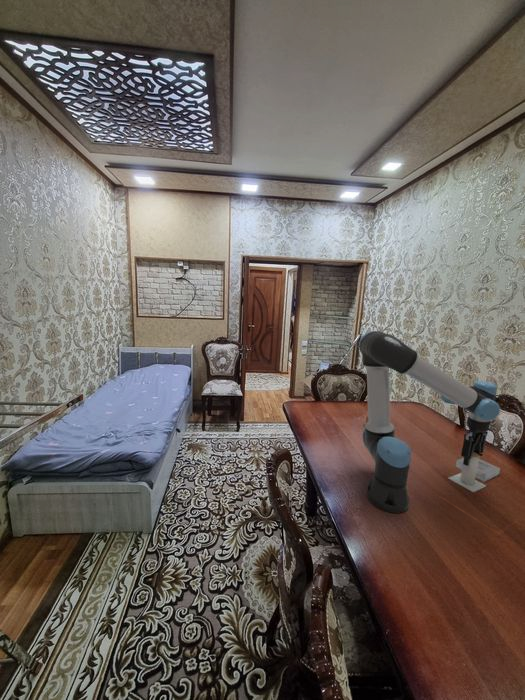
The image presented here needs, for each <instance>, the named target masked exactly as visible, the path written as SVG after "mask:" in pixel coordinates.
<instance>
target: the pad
mask: <svg viewBox="0 0 525 700" xmlns="http://www.w3.org/2000/svg"><path fill="white" fill-rule="evenodd" d="M460 477H461V472H459V473H457V474H455V475H452V476H450V477H449V476H448V477H447V478H448V480H450V481H452V482H453V483H455V484H457V485H459V486H461V487H462V488H464V489H466V490H468V491H470V492H471V493H475V492H477V491H479V490H481V489H483V488H486V487H487V484H485V483H482V482H480V481H478V480H476V479H475V482H474V485H468V484H465V483H463V482H462V481H461V480H460Z"/></svg>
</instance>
